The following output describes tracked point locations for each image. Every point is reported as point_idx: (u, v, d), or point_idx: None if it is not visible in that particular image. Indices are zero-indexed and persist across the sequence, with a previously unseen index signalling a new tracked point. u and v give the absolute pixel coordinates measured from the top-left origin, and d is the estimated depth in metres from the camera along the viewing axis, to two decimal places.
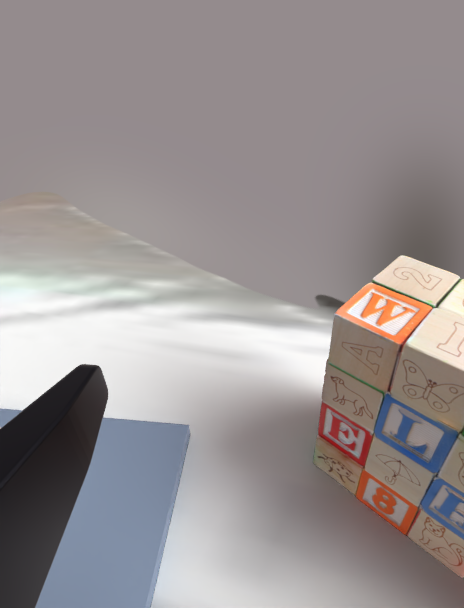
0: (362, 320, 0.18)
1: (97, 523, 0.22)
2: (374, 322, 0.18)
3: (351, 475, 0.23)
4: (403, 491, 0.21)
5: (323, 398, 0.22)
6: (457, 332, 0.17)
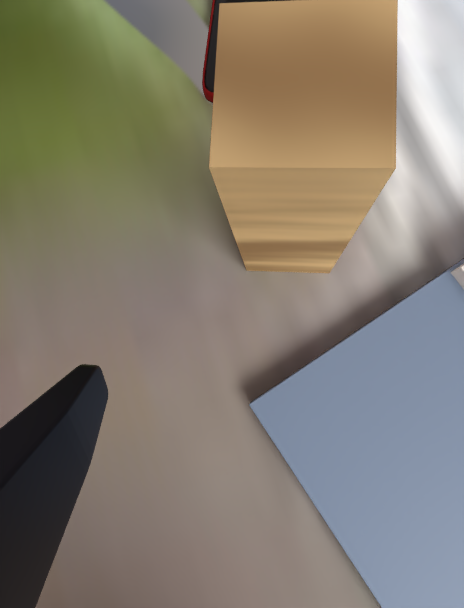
0: None
1: None
2: None
3: None
4: None
5: None
6: None
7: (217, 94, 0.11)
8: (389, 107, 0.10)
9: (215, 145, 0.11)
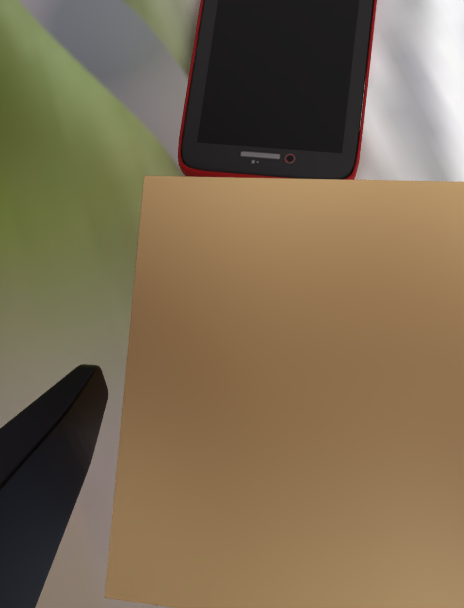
0: None
1: None
2: None
3: None
4: None
5: None
6: None
7: (131, 406, 0.04)
8: None
9: (120, 540, 0.04)
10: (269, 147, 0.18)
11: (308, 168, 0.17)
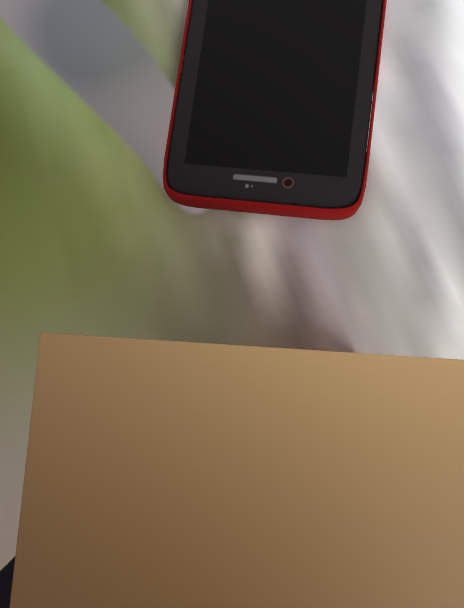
0: None
1: None
2: None
3: None
4: None
5: None
6: None
7: None
8: None
9: None
10: (265, 169, 0.16)
11: (308, 194, 0.16)
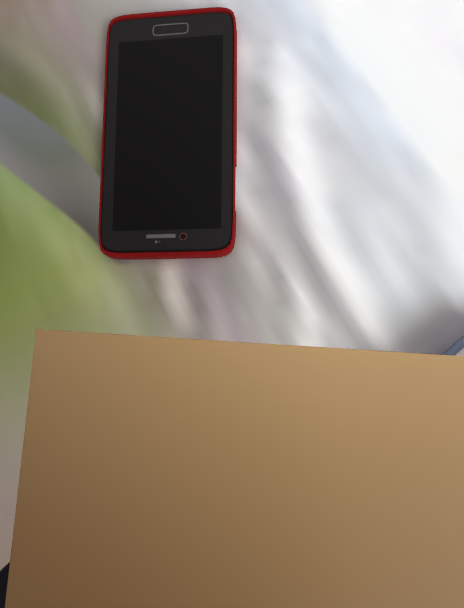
0: None
1: None
2: None
3: None
4: None
5: None
6: None
7: None
8: None
9: None
10: (167, 229, 0.23)
11: (197, 242, 0.23)
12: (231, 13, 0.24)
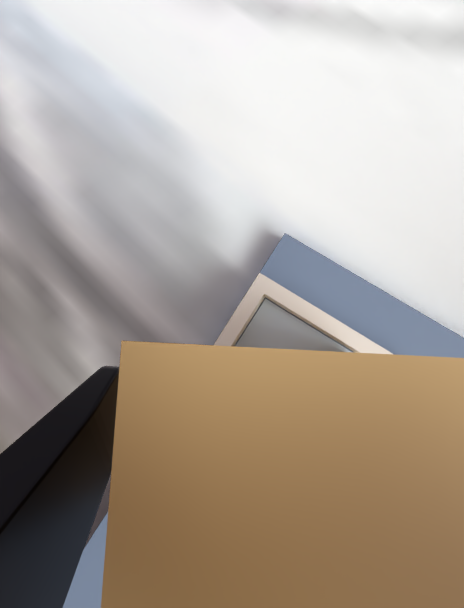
0: None
1: None
2: None
3: None
4: None
5: None
6: None
7: (110, 598, 0.04)
8: None
9: None
10: None
11: None
12: None
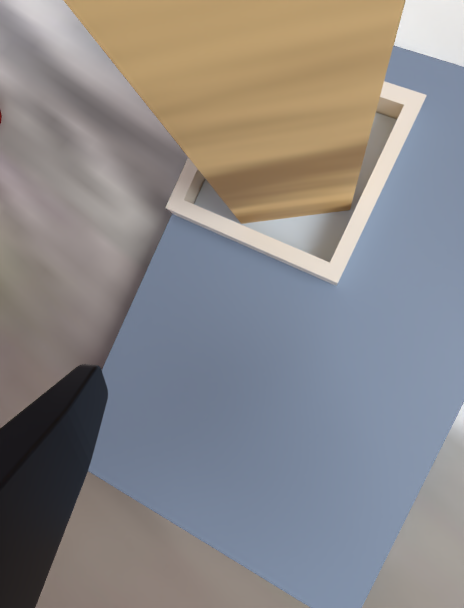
0: None
1: (435, 234, 0.17)
2: None
3: None
4: None
5: None
6: None
7: None
8: None
9: None
10: None
11: None
12: None
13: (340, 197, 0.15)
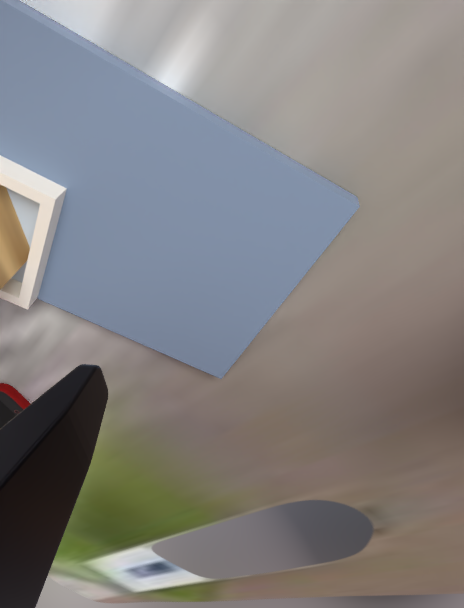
0: None
1: (3, 99, 0.18)
2: None
3: None
4: None
5: None
6: None
7: None
8: None
9: None
10: None
11: (13, 404, 0.33)
12: None
13: None
